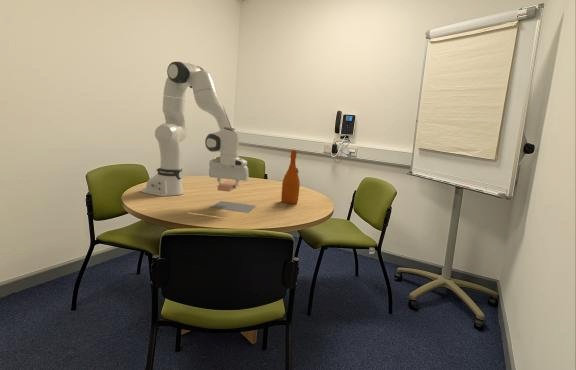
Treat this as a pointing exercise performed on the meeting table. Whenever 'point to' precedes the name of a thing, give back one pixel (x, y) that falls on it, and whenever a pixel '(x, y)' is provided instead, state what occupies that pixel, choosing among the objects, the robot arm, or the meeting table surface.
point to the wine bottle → (291, 182)
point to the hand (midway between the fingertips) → (228, 187)
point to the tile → (227, 186)
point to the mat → (233, 206)
